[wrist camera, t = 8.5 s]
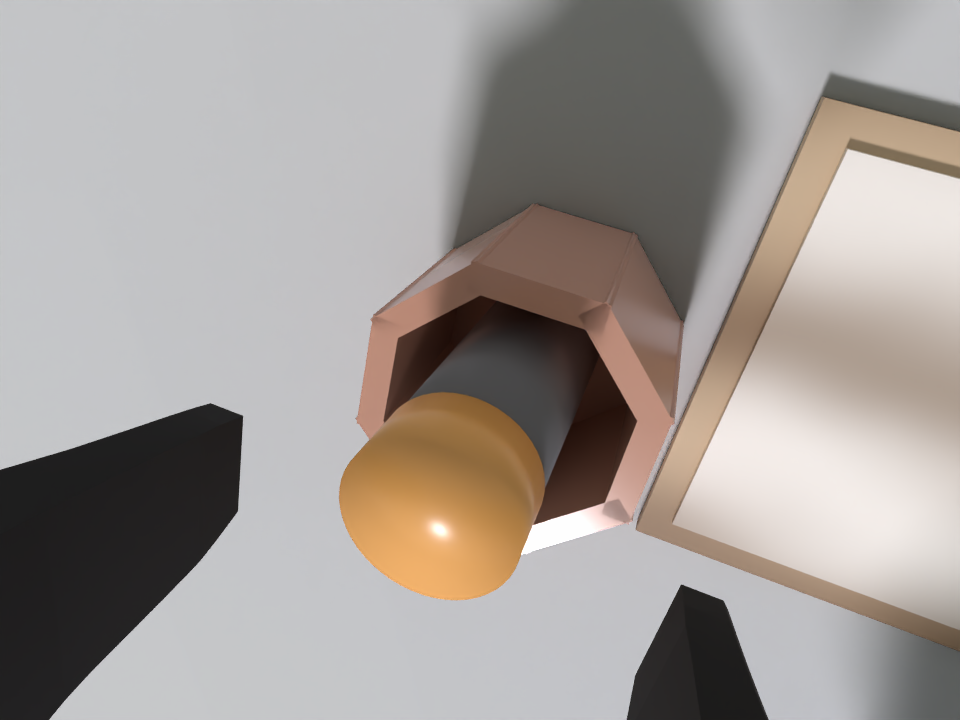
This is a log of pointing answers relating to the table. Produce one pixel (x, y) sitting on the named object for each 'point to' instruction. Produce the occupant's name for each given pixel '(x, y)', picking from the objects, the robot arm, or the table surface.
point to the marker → (469, 456)
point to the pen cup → (566, 298)
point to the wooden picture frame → (838, 385)
